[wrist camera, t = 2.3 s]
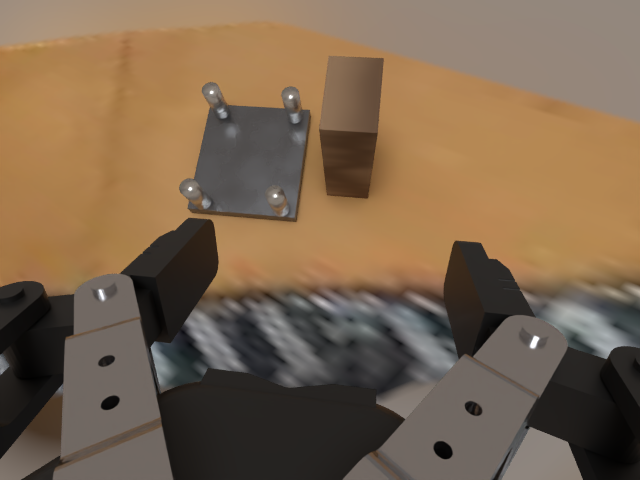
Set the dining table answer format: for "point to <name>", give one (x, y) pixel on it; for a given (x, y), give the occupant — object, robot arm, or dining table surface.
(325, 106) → the brown wooden block
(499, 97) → the dining table surface
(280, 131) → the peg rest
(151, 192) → the dining table surface
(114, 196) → the dining table surface
